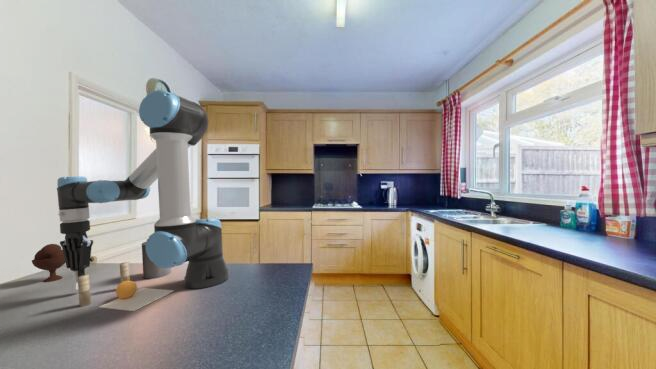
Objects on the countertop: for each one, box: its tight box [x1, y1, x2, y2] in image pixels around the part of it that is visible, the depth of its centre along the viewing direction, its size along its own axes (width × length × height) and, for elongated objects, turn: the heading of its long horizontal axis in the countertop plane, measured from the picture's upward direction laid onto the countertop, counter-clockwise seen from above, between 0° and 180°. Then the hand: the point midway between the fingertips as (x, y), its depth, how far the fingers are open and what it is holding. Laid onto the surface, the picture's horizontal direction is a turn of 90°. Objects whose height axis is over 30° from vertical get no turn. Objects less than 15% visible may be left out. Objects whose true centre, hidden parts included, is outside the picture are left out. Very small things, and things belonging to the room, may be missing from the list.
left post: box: [77, 274, 92, 308], centre depth 82 cm, size 3×3×9 cm
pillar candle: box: [141, 241, 172, 280], centre depth 108 cm, size 10×10×15 cm
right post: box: [119, 261, 131, 283], centre depth 94 cm, size 3×3×9 cm
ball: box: [115, 280, 138, 299], centre depth 86 cm, size 6×6×6 cm
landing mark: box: [98, 287, 175, 312], centre depth 84 cm, size 14×14×1 cm
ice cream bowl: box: [31, 243, 66, 283], centre depth 109 cm, size 11×11×15 cm
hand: (79, 288), depth 92 cm, fingers closed
